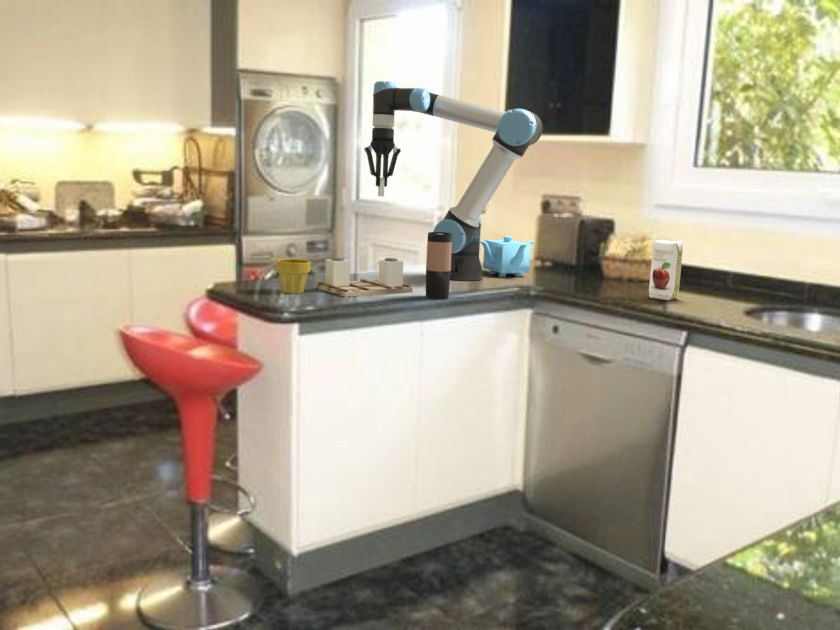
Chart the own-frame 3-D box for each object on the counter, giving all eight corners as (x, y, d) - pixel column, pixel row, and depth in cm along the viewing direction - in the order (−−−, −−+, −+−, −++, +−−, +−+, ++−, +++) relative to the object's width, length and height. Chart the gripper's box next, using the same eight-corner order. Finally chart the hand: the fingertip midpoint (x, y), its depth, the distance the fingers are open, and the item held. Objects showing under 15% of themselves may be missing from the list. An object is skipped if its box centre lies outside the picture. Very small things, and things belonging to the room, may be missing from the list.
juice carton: (655, 295, 282) (660, 239, 279) (680, 298, 277) (685, 241, 274) (646, 297, 277) (651, 240, 273) (670, 301, 271) (676, 243, 268)
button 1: (325, 284, 265) (325, 257, 264) (341, 283, 269) (342, 256, 267) (333, 286, 261) (333, 259, 260) (349, 285, 265) (350, 258, 263)
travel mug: (450, 296, 263) (453, 232, 259) (448, 300, 256) (451, 234, 252) (425, 294, 264) (428, 231, 260) (423, 298, 256) (426, 233, 253)
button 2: (378, 284, 270) (379, 258, 268) (393, 283, 273) (394, 257, 272) (386, 286, 266) (387, 260, 264) (402, 285, 269) (403, 259, 268)
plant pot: (317, 292, 260) (317, 260, 259) (294, 295, 252) (294, 263, 250) (292, 288, 266) (292, 257, 264) (269, 291, 258) (269, 260, 256)
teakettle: (488, 270, 327) (490, 232, 325) (535, 274, 321) (538, 236, 318) (475, 276, 310) (477, 236, 307) (524, 280, 304) (527, 240, 301)
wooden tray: (316, 288, 267) (316, 281, 267) (381, 283, 282) (381, 277, 281) (345, 297, 253) (345, 290, 252) (412, 292, 268) (412, 285, 267)
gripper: (398, 128, 295) (396, 196, 300) (362, 126, 292) (360, 195, 296) (404, 128, 288) (401, 197, 293) (367, 126, 285) (365, 196, 289)
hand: (380, 196), depth 295 cm, fingers closed
